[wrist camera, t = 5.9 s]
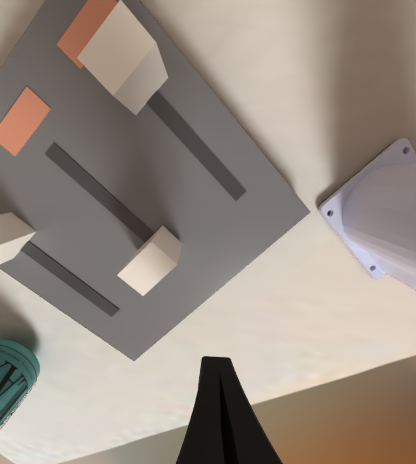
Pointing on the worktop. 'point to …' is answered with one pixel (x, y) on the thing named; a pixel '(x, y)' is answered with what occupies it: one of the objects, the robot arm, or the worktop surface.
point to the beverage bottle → (15, 375)
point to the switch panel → (125, 172)
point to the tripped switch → (152, 261)
